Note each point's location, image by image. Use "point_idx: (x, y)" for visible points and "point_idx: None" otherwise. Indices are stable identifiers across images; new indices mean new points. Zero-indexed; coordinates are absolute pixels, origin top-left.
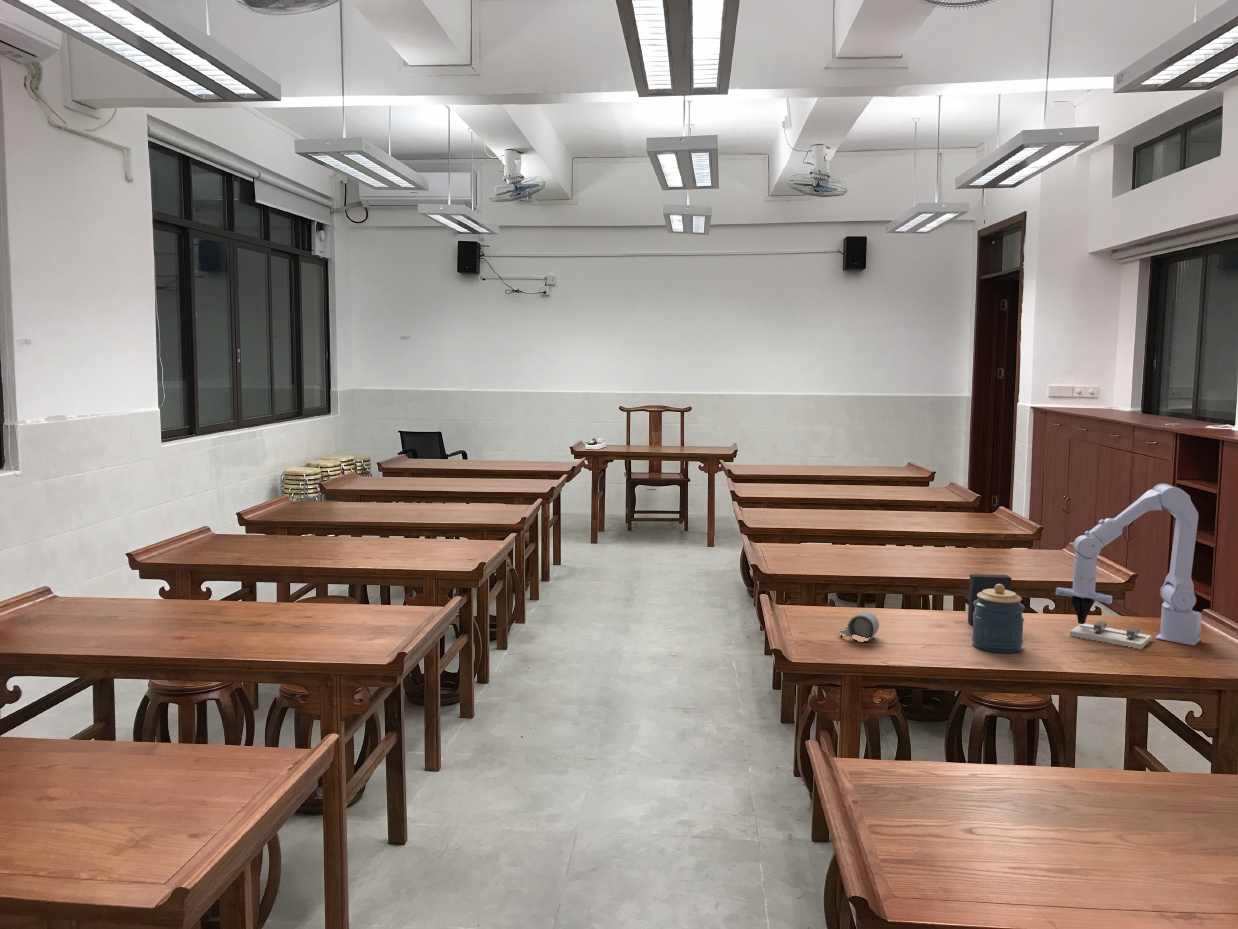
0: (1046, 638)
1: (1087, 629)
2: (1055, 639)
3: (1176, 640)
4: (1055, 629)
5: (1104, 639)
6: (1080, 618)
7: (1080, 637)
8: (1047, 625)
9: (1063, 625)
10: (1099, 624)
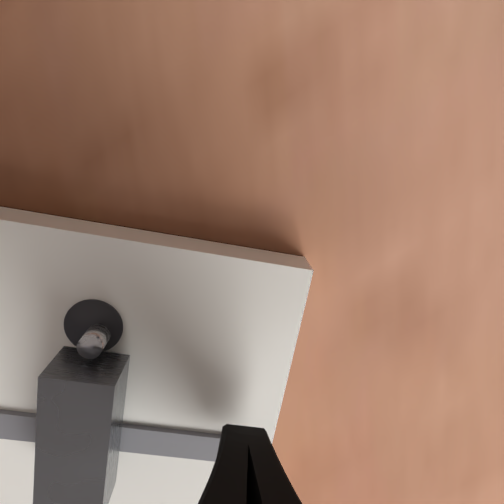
0: (478, 69)
1: (189, 391)
2: (406, 81)
3: None
4: (407, 377)
5: (25, 218)
6: (251, 460)
7: (225, 245)
8: (457, 441)
9: (358, 495)
10: (71, 425)
